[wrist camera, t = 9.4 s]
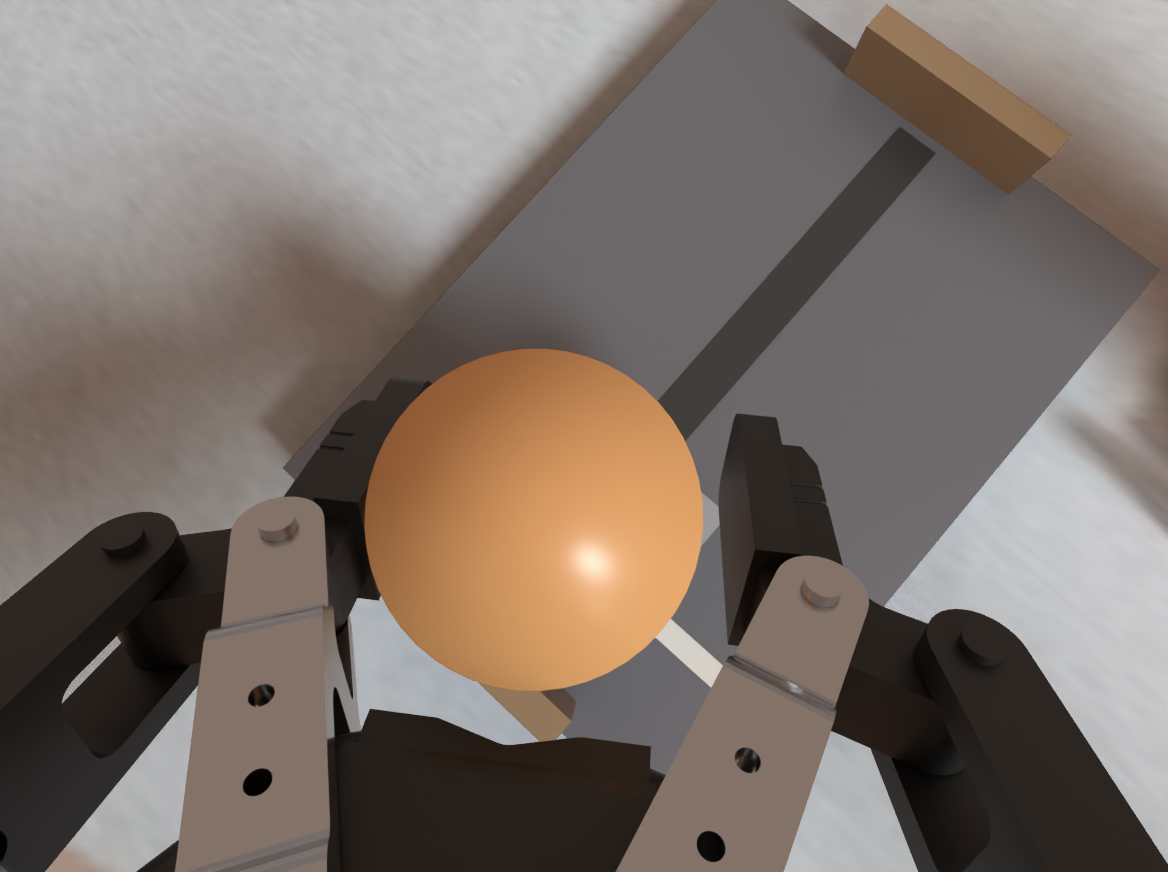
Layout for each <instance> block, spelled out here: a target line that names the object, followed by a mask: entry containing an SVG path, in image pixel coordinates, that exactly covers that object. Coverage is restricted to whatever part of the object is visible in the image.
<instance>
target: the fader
mask: <svg viewBox="0 0 1168 872" xmlns="http://www.w3.org/2000/svg"><path fill="white" fill-rule="evenodd" d="M364 525H365V537H366V548H367V552H368V557H369V562H370V567H371V570H372V573H373V576H374V579H375V582H376V584H377V587H378V590H379V592H380V594H381V596H382V598H383V600H384V602H385V604H386V606H387V608H388V609H389V611H390V612H391V614H392V615H393V617H394V618H395V620H396V621H397V623H398V624H399V625H400V627H401V628H402V629H403V630H404V632H405V633H406V634H407V635H408V636H409V637H410V638H411V639H412V640H413V641H414V643H415V644H416V645H417V646H419V647H420V648H421V649H422V650H423V651H425V652H426V653H427V654H428V655H429V656H431V657H432V658H433V659H434V660H436V661H437V662H439V663H441V664H442V665H444V666H445V667H447V668H449V669H450V670H452V671H454V672H456V673H458V674H460V675H462V676H465V677H467V678H469V679H471V680H473V681H477V682H480V683H483V684H487V685H490V686H493V687H498V688H505V689H511V690H518V691H544V690H552V689H560V688H566V687H570V686H573V685H577V684H581V683H585V682H588V681H590V680H592V679H595V678H597V677H600V676H602V675H604V674H607V673H609V672H610V671H612V670H614V669H615V668H617V667H619V666H621V665H622V664H624V663H626V662H627V661H629V660H630V659H631V658H632V657H634V656H635V655H636V654H638V653H639V652H640V651H641V650H643V649H644V648H645V647H646V646H647V645H648V644H649V643H650V642H651V641H652V640H653V639H654V638H655V637H656V636H657V635H658V634H659V633H660V632H661V631H662V630H663V628H664V627H665V626H666V624H667V623H668V621H669V620H670V619H671V617H672V616H673V615H674V613H675V612H676V610H677V608H678V607H679V605H680V603H681V601H682V599H683V598H684V596H685V594H686V592H687V590H688V587H689V585H690V582H691V580H692V577H693V574H694V572H695V569H696V565H697V561H698V557H699V553H700V548H701V546H702V545H703V544H704V542H705V541H706V540H707V539H708V538H709V537H710V535H711V534H712V533H713V532H714V531H715V530H716V528H717V527H718V526H719V525H720V523H719V507H718V506H717V505H716V504H715V503H714V502H712V501H711V500H710V499H709V498H708V497H707V496H705V495H704V494H703V493H702V492H701V489H700V483H699V478H698V475H697V471H696V468H695V464H694V461H693V458H692V456H691V454H690V451H689V449H688V447H687V444H686V442H685V440H684V438H683V436H682V435H681V433H680V431H679V430H678V428H677V426H676V425H675V423H674V421H673V420H672V419H671V417H670V416H669V415H668V414H667V412H666V411H665V410H664V408H663V407H662V406H661V405H660V403H659V402H658V401H657V400H655V399H654V398H653V397H652V396H651V395H650V394H649V393H648V392H647V391H646V390H645V389H644V388H643V387H642V386H640V385H639V384H638V383H636V382H635V381H633V380H632V379H631V378H629V377H628V376H627V375H625V374H623V373H622V372H620V371H618V370H616V369H614V368H613V367H611V366H609V365H607V364H605V363H602V362H600V361H597V360H595V359H592V358H589V357H587V356H583V355H579V354H575V353H571V352H567V351H560V350H551V349H520V350H512V351H505V352H500V353H496V354H493V355H489V356H485V357H482V358H479V359H477V360H474V361H472V362H469V363H467V364H465V365H462V366H460V367H459V368H457V369H455V370H453V371H451V372H450V373H448V374H446V375H444V376H443V377H441V378H440V379H439V380H437V381H436V382H435V383H433V384H432V385H431V386H429V387H428V388H427V389H425V390H424V391H423V392H422V393H421V394H420V395H419V396H418V397H417V398H416V399H415V400H414V401H413V402H412V403H411V404H410V405H409V406H408V408H407V409H406V410H405V411H404V413H403V414H402V415H401V416H400V417H399V419H398V420H397V421H396V423H395V424H394V426H393V428H392V429H391V431H390V433H389V434H388V436H387V437H386V439H385V441H384V443H383V445H382V448H381V450H380V452H379V454H378V456H377V458H376V461H375V464H374V468H373V471H372V474H371V477H370V480H369V486H368V491H367V497H366V504H365V524H364Z"/></svg>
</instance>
